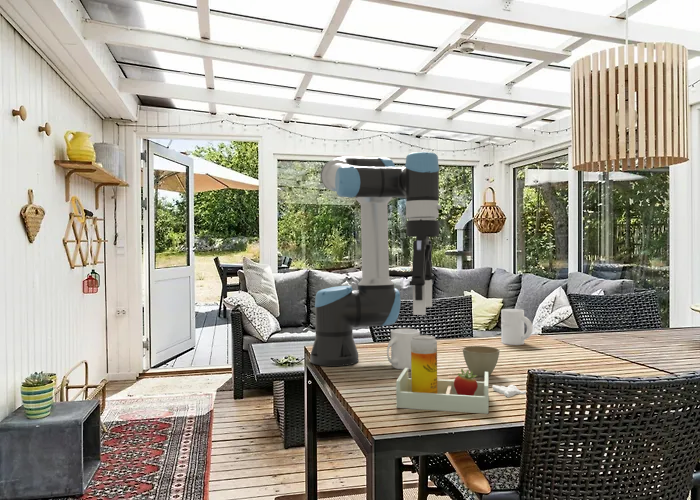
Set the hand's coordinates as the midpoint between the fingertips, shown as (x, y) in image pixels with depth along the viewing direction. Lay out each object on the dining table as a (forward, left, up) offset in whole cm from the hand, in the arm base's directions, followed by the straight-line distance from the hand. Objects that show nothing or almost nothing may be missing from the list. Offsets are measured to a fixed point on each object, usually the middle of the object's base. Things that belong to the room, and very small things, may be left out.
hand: (423, 310), depth 125 cm
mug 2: (+25, +77, -21) cm, 83 cm away
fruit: (+10, 0, -21) cm, 23 cm away
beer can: (0, 0, -21) cm, 21 cm away
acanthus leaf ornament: (+20, +12, -22) cm, 32 cm away
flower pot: (+13, +28, -21) cm, 37 cm away
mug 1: (-10, +32, -21) cm, 40 cm away
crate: (+5, 0, -21) cm, 22 cm away
